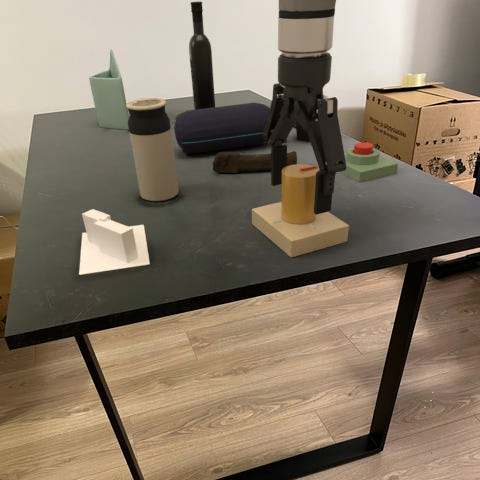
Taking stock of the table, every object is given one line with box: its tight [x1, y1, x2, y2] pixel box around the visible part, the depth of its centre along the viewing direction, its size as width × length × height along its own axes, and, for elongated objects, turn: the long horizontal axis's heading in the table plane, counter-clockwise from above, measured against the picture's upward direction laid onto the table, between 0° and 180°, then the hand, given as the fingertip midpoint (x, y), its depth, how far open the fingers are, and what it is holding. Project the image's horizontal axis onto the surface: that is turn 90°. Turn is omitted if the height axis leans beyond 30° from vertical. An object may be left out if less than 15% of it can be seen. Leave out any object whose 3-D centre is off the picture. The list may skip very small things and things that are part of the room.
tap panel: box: [251, 201, 350, 258], centre depth 82 cm, size 14×11×3 cm
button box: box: [337, 146, 399, 183], centre depth 104 cm, size 12×10×4 cm
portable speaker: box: [173, 102, 274, 155], centre depth 117 cm, size 25×10×10 cm, turn 108°
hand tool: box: [212, 150, 298, 175], centre depth 106 cm, size 19×4×5 cm, turn 89°
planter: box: [88, 49, 130, 131], centre depth 136 cm, size 16×8×20 cm, turn 23°
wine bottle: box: [188, 1, 216, 110], centre depth 131 cm, size 6×6×30 cm
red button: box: [353, 141, 374, 155], centre depth 103 cm, size 4×4×2 cm
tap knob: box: [280, 163, 320, 224], centre depth 78 cm, size 6×6×8 cm
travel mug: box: [126, 97, 180, 202], centre depth 93 cm, size 8×8×18 cm
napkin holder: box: [78, 208, 151, 276], centre depth 79 cm, size 15×11×6 cm
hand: (299, 197), depth 79 cm, fingers open, 13 cm apart
